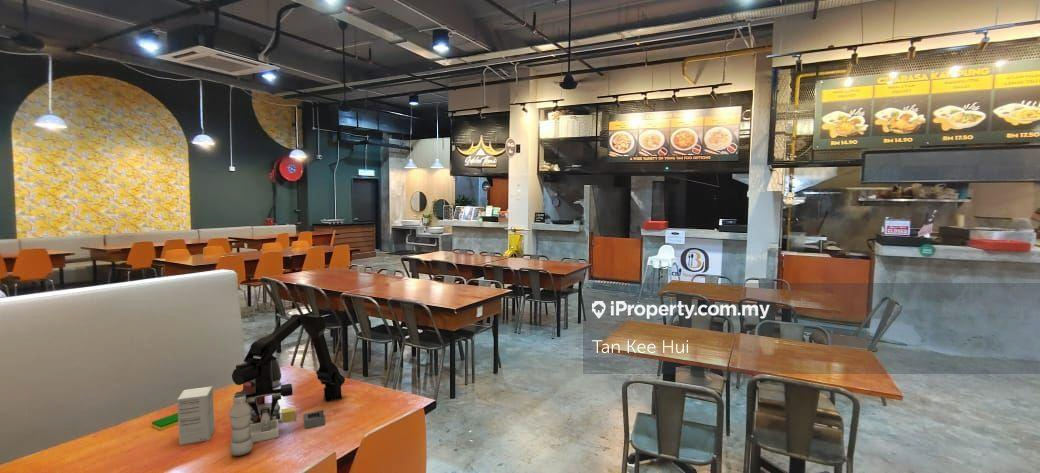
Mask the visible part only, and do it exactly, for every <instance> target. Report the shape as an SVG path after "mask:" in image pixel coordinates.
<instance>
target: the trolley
mask: <svg viewBox="0 0 1040 473" xmlns="http://www.w3.org/2000/svg"><path fill="white" fill-rule="evenodd" d="M246 403H247V401H246ZM271 404H272V402H270V403H269V402H268V403H265V404H262V405H258V409H259V416H261V414H260V409H261V408H264V407H269V408H270V421H271V420H276V419H278V422H280V420H281V412H280V411H281V405H280V404H279V401H278V402H277V404H276V406H275V408H274V411H273V414H272V416H271ZM256 423H258V417H257V415H256V413H255V411H254V410H253V408H252V407H251V419H250V424H256Z"/></svg>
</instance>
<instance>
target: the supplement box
mask: <svg viewBox="0 0 1040 473" xmlns="http://www.w3.org/2000/svg"><path fill="white" fill-rule="evenodd" d="M213 392H214V389H213V386H212V385H211V386H206V387H205V386H204V387H198V388H197V387H196V388H189V389H184V390H183V391H182V392H181V394H180V395H179V396H178V398H177V400H176V404H177V407H176V408H177V413H178V425H177V426H178V440H179V441H178V442H179V446H183V445H188V444H194V443H200V442H201V443H202V442H205V441H210V439H211V437H212V435H213V433H214V431H215V416H214V415H215V413H214V393H213Z"/></svg>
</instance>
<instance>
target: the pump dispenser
mask: <svg viewBox="0 0 1040 473" xmlns="http://www.w3.org/2000/svg"><path fill="white" fill-rule="evenodd" d="M281 379H282V372H281V367H280V364H279V362H278V360H277V359H276V360H274V361H272V381H273V388H275V387H276V386H278V385H279V383H280V382H281Z"/></svg>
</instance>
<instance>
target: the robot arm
mask: <svg viewBox="0 0 1040 473" xmlns="http://www.w3.org/2000/svg"><path fill="white" fill-rule="evenodd" d="M301 326H302V327H303V329H304V331H305V333H306V334H307V335H308V336H309V337H310V338H311V341H312V346H313V348H314V351H315V354H316V357H317V361H318V364H319V367H318V370H316V371H315V373H316V375H317V380H319V381H320V383H321V385H324V387H323V398H324V400H325V401H326V402H330V401H334V400H336V401H337V400H340V399H341V400H342V399H343V396H342V386H343V385H344V384H345V382H346V377H344V376H343V375H342V374H341V373H340V370H339V368H338V366H337V365H336V364H335V363H334V362H333V361H332V357H331V353H330V351H329V347H328V344H327V341H326V340H327V339H326V337H325V331H326V328H327V327H326V320H325V318H324V317H323V316H321V315H313V314H312V315H311V314H307V315H305V314H300V313H294V314H292V315H291V316H290V318H289V319H287V320H286V321H284V323H283V324H281V325H280V326H278V328H276V329H275V330H274V331H272V333H270V334H268V335H267V336H263V337H260V338H259V339H256V340H255V341H253V342H252V343H251V345H250V348H249V350H248V352H247V354H246V356H245V358H244V359H243V363H239V364H236V365H235V369H233V372H232V374H231V379H232V381H233V382H234V384H235V385H237V386H240V385H243V384H244V383H246V382H249V381H251V387H255V393H249V394H247V391H242V390H241V391H242V392H241V391H237V392H235V393H234V396H235V395H239V394H245V395H246V401H247V403H248V404H249V405H250V406H251V407H252V408H253V410H254V411H255V413H256V415H257V416H256V418H257V419H259V418H260V415H259V409H258V404H257V398H258V397H263V396H265V397H268V396H271V403H272V404H271V416H272V414H273V411H274V408H275V406H276V404H277V402H278V403H279V400H282V397H283V398H284V397H289V396H293V395H294V394H293V384H292V383H287V384H286V383H285V384H280V387H279V388H275V389H274V387H273V381H272V361H274V360H277V359H278V358H277V357H276V356H274V354H275V353H276V352H277V350H278V348H279V345H280V344H281V343H282V342H283V341H285V339H287V338H288V337H289V336H290V335H291V334H293V332H295V331H296V330H297V329H299V328H300V327H301Z"/></svg>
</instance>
